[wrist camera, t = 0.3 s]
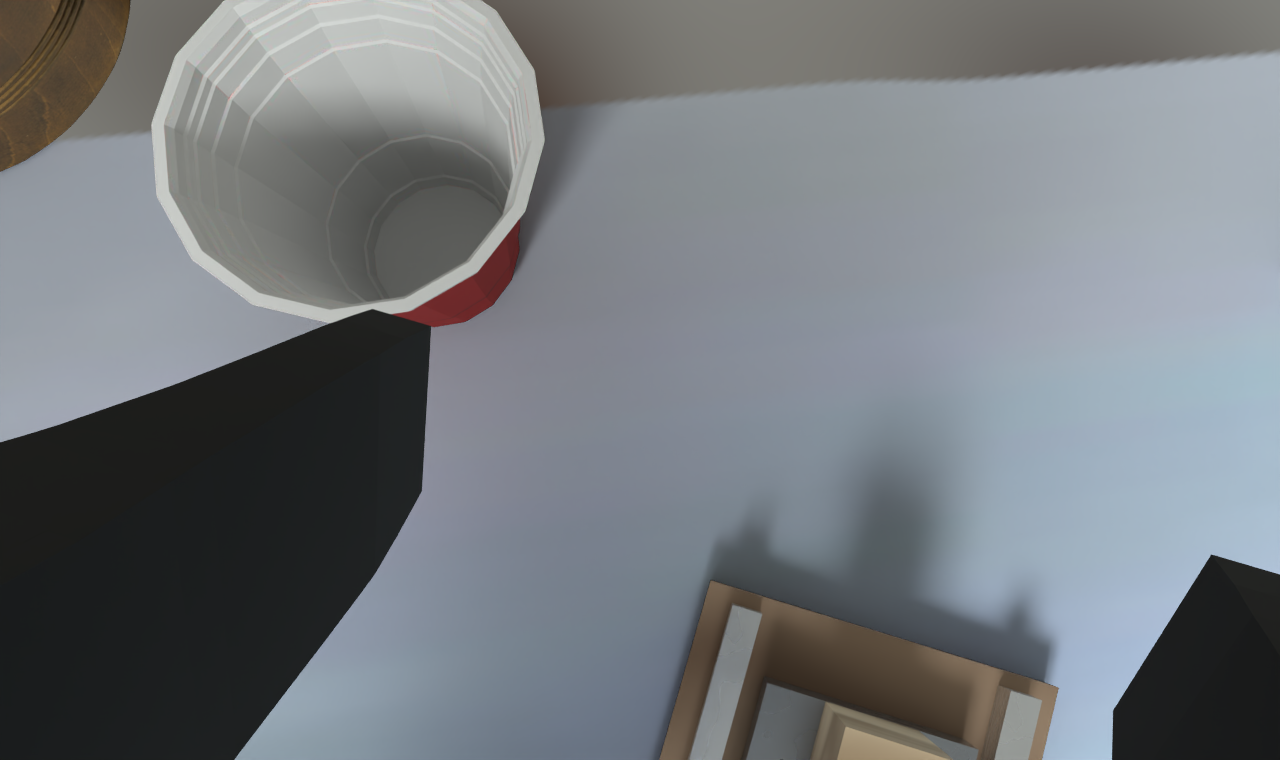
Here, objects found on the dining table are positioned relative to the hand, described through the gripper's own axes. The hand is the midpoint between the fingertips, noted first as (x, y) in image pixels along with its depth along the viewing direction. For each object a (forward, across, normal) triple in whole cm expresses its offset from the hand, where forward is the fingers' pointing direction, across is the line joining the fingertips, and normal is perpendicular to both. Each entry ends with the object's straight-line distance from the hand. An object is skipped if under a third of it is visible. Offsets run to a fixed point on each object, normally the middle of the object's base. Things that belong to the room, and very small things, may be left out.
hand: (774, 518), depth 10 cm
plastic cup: (+26, +14, +13) cm, 33 cm away
